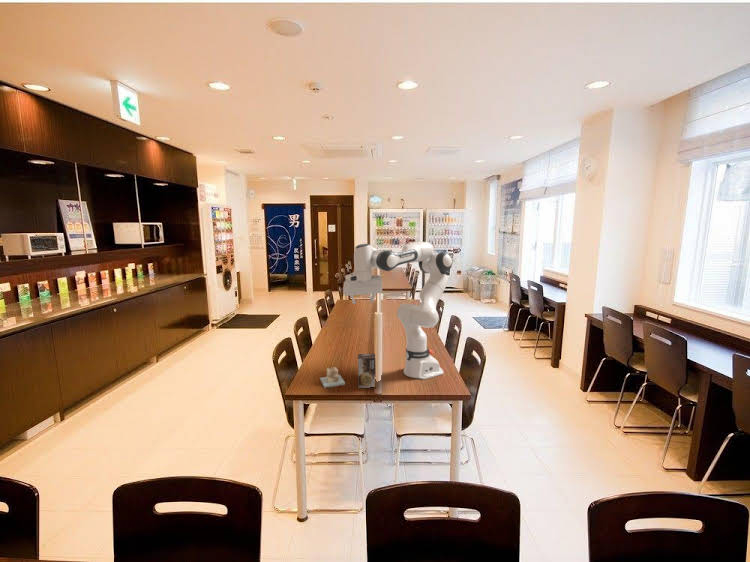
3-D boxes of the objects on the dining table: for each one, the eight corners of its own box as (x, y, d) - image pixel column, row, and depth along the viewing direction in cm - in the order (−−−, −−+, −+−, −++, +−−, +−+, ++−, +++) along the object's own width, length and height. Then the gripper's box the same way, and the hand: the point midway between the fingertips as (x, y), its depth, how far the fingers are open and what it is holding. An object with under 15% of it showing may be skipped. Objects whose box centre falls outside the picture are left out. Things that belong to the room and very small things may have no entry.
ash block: (335, 377, 190) (335, 367, 189) (338, 381, 185) (338, 370, 184) (326, 379, 188) (326, 368, 187) (328, 382, 183) (328, 371, 182)
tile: (339, 376, 193) (339, 374, 193) (345, 384, 183) (345, 382, 183) (320, 379, 190) (320, 377, 190) (324, 388, 180) (324, 386, 179)
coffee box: (375, 382, 186) (375, 353, 184) (375, 388, 180) (375, 357, 177) (358, 382, 186) (358, 353, 183) (358, 388, 179) (357, 358, 177)
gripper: (379, 274, 185) (379, 299, 187) (342, 276, 178) (342, 303, 180) (384, 275, 179) (384, 302, 181) (345, 278, 172) (345, 305, 174)
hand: (363, 302), depth 181 cm, fingers open, 8 cm apart
